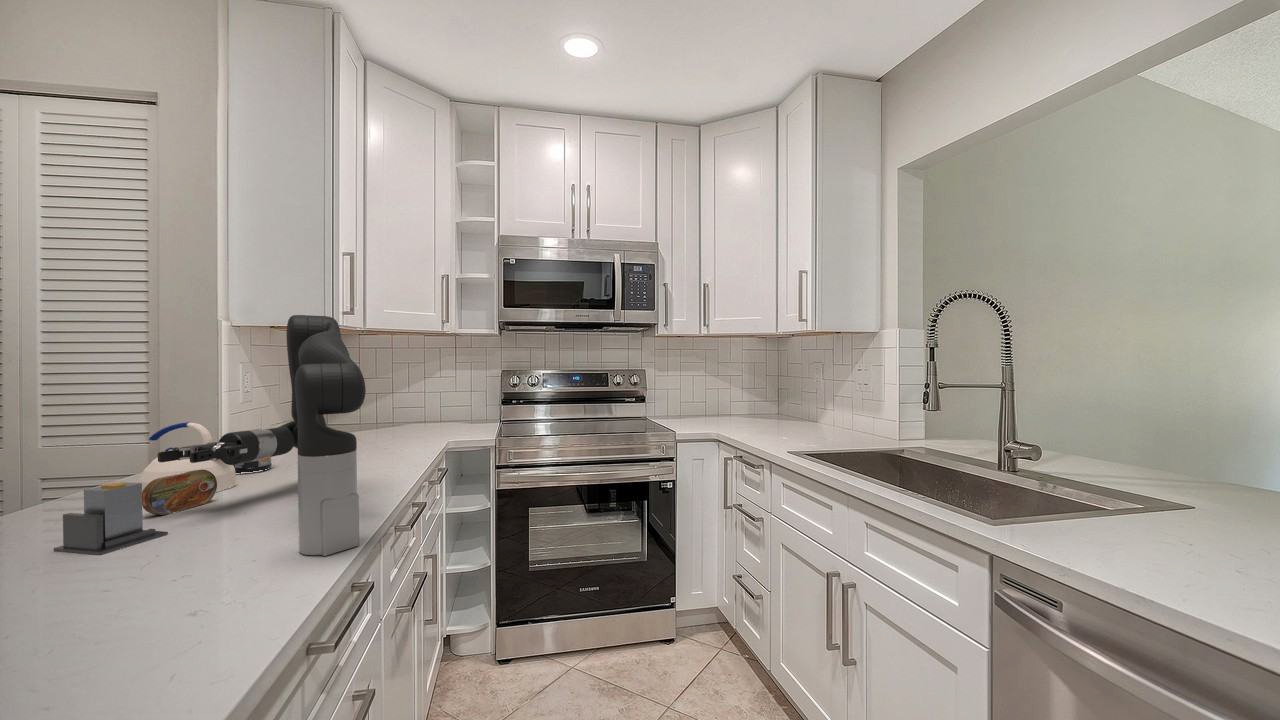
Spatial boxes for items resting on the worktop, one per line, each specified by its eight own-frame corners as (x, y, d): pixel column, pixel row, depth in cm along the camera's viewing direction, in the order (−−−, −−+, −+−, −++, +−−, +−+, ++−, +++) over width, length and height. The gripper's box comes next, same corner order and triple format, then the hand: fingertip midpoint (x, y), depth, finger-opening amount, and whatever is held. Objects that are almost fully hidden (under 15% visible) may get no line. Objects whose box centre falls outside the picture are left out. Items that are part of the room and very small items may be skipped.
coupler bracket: (125, 530, 106) (124, 498, 106) (167, 534, 103) (167, 501, 103) (53, 550, 95) (53, 514, 95) (99, 555, 93) (99, 518, 93)
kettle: (195, 500, 129) (194, 427, 129) (111, 501, 129) (110, 427, 129) (256, 481, 149) (255, 417, 149) (184, 481, 149) (183, 418, 149)
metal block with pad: (122, 533, 103) (121, 480, 103) (142, 534, 102) (141, 481, 102) (84, 543, 97) (83, 487, 97) (105, 545, 96) (104, 488, 96)
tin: (149, 519, 113) (149, 480, 113) (138, 519, 114) (137, 480, 114) (218, 501, 128) (218, 466, 128) (208, 500, 129) (207, 466, 129)
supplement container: (280, 467, 167) (279, 429, 167) (252, 475, 156) (252, 434, 156) (249, 467, 168) (249, 429, 168) (220, 474, 157) (219, 434, 157)
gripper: (224, 430, 127) (148, 439, 111) (272, 430, 124) (201, 439, 108) (224, 461, 127) (148, 475, 111) (273, 462, 124) (202, 476, 108)
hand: (174, 457), depth 109 cm, fingers open, 8 cm apart
